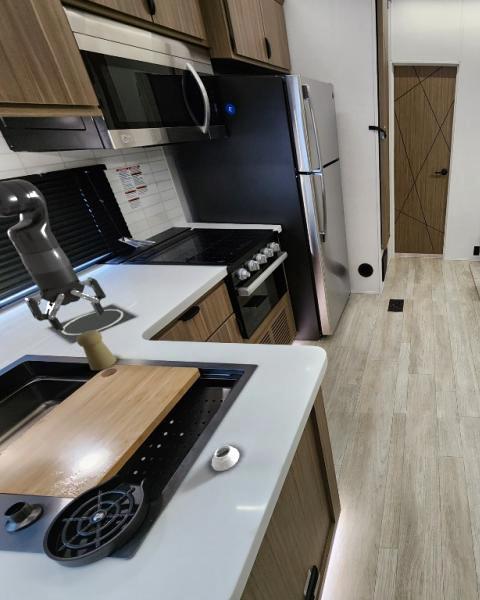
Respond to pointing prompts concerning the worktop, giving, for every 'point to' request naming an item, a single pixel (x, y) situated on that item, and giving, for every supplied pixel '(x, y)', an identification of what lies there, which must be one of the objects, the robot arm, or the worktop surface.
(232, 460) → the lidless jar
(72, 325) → the slate board
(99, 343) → the cork
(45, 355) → the worktop surface
